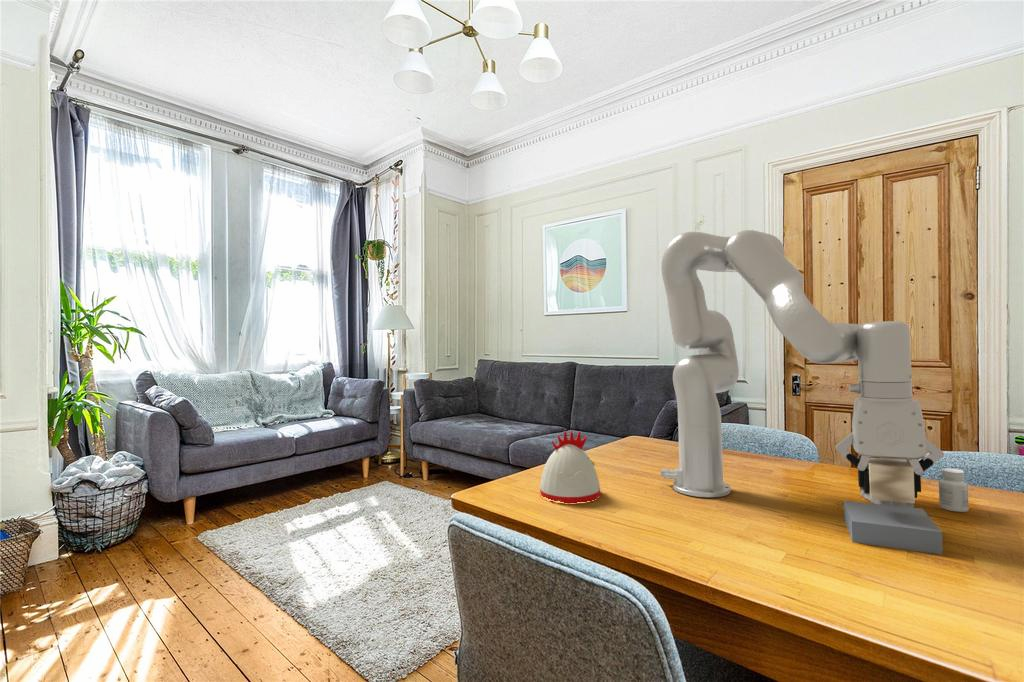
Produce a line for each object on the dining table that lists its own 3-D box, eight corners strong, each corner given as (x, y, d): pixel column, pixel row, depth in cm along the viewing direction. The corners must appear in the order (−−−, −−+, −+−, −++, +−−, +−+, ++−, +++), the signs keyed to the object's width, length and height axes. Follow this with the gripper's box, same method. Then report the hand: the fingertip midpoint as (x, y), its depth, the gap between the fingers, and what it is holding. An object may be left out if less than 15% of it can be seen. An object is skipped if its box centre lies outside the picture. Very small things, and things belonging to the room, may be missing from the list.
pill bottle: (963, 506, 101) (962, 468, 101) (972, 513, 97) (971, 474, 97) (936, 504, 103) (935, 466, 103) (943, 511, 99) (942, 472, 99)
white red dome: (604, 504, 109) (602, 435, 109) (541, 505, 109) (539, 436, 109) (595, 485, 123) (593, 424, 123) (539, 486, 123) (537, 426, 123)
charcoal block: (852, 544, 85) (851, 521, 85) (844, 521, 96) (843, 500, 96) (942, 557, 80) (941, 532, 80) (923, 530, 90) (922, 508, 90)
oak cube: (871, 499, 86) (869, 464, 86) (865, 489, 92) (864, 457, 92) (914, 503, 84) (913, 467, 84) (906, 493, 89) (905, 459, 89)
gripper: (829, 392, 88) (833, 494, 88) (955, 394, 80) (960, 506, 80) (825, 388, 95) (829, 483, 95) (941, 390, 87) (945, 493, 87)
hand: (889, 492), depth 88 cm, fingers closed on oak cube, 6 cm apart
